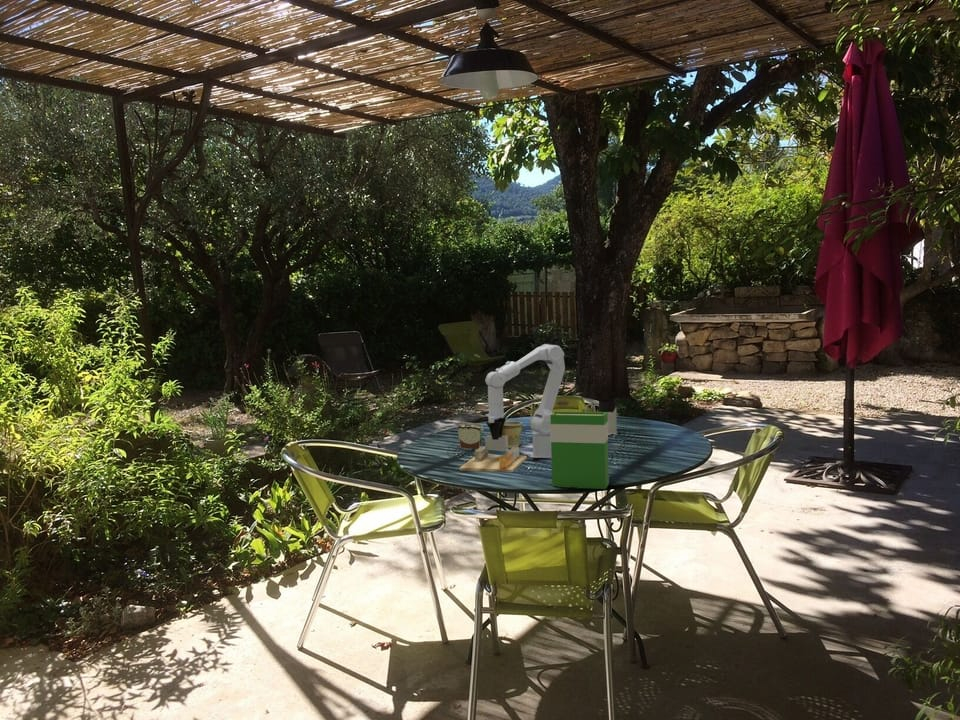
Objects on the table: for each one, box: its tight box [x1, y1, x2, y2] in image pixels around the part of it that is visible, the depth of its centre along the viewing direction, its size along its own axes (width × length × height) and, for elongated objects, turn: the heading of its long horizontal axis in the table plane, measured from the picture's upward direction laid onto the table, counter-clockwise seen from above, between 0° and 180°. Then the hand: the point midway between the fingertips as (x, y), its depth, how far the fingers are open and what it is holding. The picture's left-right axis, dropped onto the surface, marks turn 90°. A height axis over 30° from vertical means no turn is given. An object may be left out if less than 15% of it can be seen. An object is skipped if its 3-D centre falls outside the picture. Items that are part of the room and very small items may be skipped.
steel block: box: [484, 434, 509, 452], centre depth 290 cm, size 8×4×5 cm, turn 73°
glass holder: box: [584, 399, 618, 435], centre depth 337 cm, size 9×14×15 cm, turn 89°
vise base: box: [459, 445, 528, 473], centre depth 286 cm, size 20×23×5 cm
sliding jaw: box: [499, 446, 520, 468], centre depth 283 cm, size 2×20×4 cm, turn 163°
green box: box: [550, 411, 610, 490], centre depth 250 cm, size 18×7×24 cm, turn 72°
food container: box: [456, 422, 485, 451], centre depth 318 cm, size 12×6×10 cm, turn 59°
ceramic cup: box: [502, 420, 523, 449], centre depth 319 cm, size 13×10×10 cm
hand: (496, 438), depth 290 cm, fingers closed on steel block, 4 cm apart
